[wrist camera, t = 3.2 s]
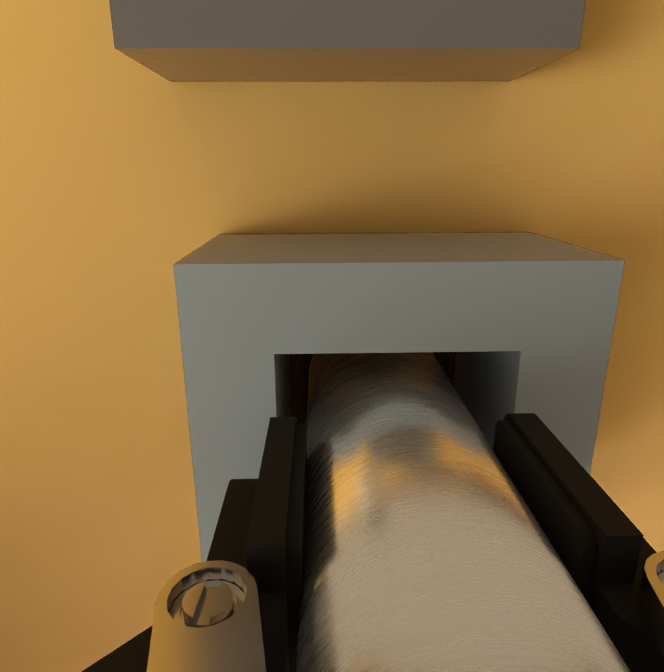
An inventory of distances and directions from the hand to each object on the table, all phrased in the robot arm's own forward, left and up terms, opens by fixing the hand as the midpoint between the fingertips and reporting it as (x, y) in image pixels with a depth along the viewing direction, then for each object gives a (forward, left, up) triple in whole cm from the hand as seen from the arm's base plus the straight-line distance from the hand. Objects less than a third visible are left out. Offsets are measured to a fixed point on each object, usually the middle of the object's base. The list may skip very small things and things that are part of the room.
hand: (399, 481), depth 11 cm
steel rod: (0, 0, -6) cm, 6 cm away
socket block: (0, 0, -6) cm, 6 cm away
